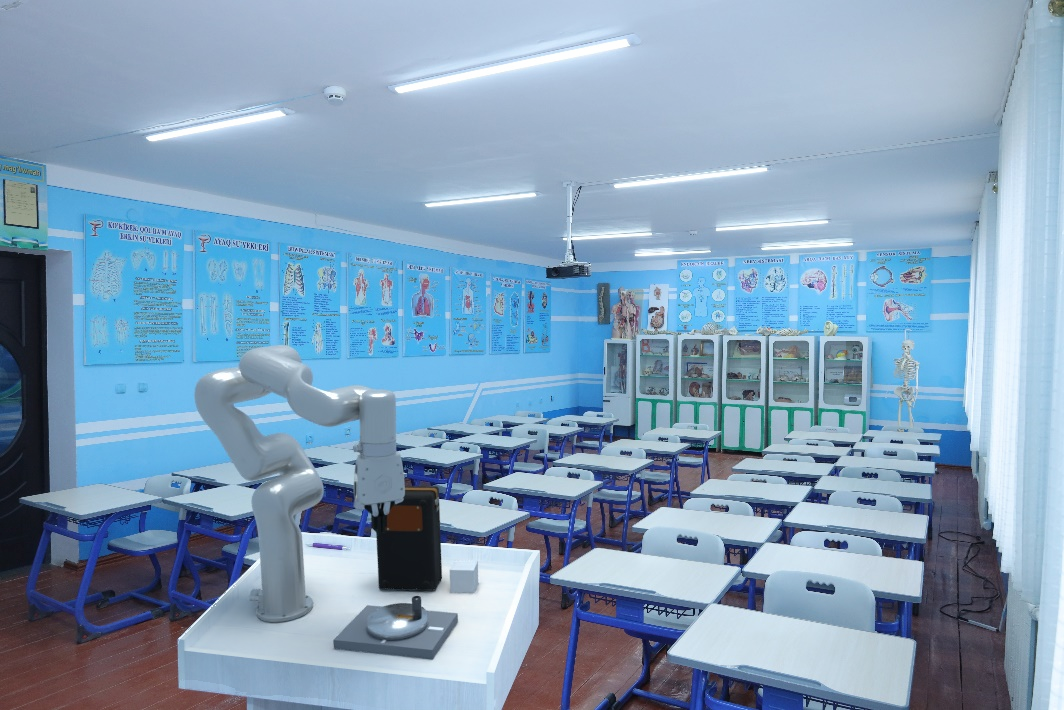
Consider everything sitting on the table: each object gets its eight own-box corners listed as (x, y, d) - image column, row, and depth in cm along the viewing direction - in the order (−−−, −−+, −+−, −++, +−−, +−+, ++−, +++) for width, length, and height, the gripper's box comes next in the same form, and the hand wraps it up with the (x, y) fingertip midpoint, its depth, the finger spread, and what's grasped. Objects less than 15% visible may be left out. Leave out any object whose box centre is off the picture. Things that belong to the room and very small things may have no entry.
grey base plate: (333, 648, 149) (333, 638, 149) (367, 613, 165) (367, 603, 165) (432, 659, 145) (432, 648, 144) (457, 621, 160) (457, 611, 160)
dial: (357, 638, 149) (355, 609, 148) (379, 609, 162) (378, 582, 161) (417, 641, 147) (416, 612, 146) (434, 612, 160) (433, 585, 159)
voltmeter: (444, 578, 183) (441, 484, 180) (436, 593, 174) (433, 494, 172) (385, 577, 185) (381, 483, 182) (374, 592, 176) (370, 494, 173)
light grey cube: (455, 582, 181) (454, 560, 180) (478, 583, 180) (477, 560, 179) (450, 593, 175) (449, 569, 174) (474, 593, 174) (473, 570, 173)
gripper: (348, 457, 144) (350, 544, 146) (418, 448, 151) (418, 531, 154) (338, 448, 150) (339, 531, 152) (405, 440, 158) (406, 520, 160)
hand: (379, 531), depth 153 cm, fingers closed
